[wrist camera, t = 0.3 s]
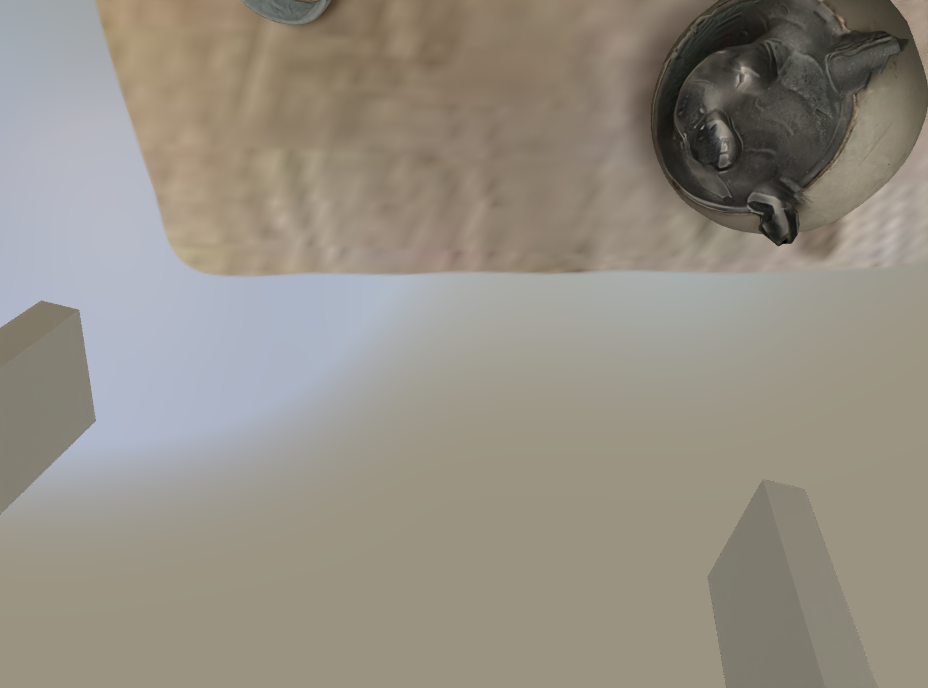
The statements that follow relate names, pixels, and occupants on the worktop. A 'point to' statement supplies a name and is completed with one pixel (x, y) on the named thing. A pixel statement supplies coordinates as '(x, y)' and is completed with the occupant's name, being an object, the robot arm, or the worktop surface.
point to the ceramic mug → (288, 10)
